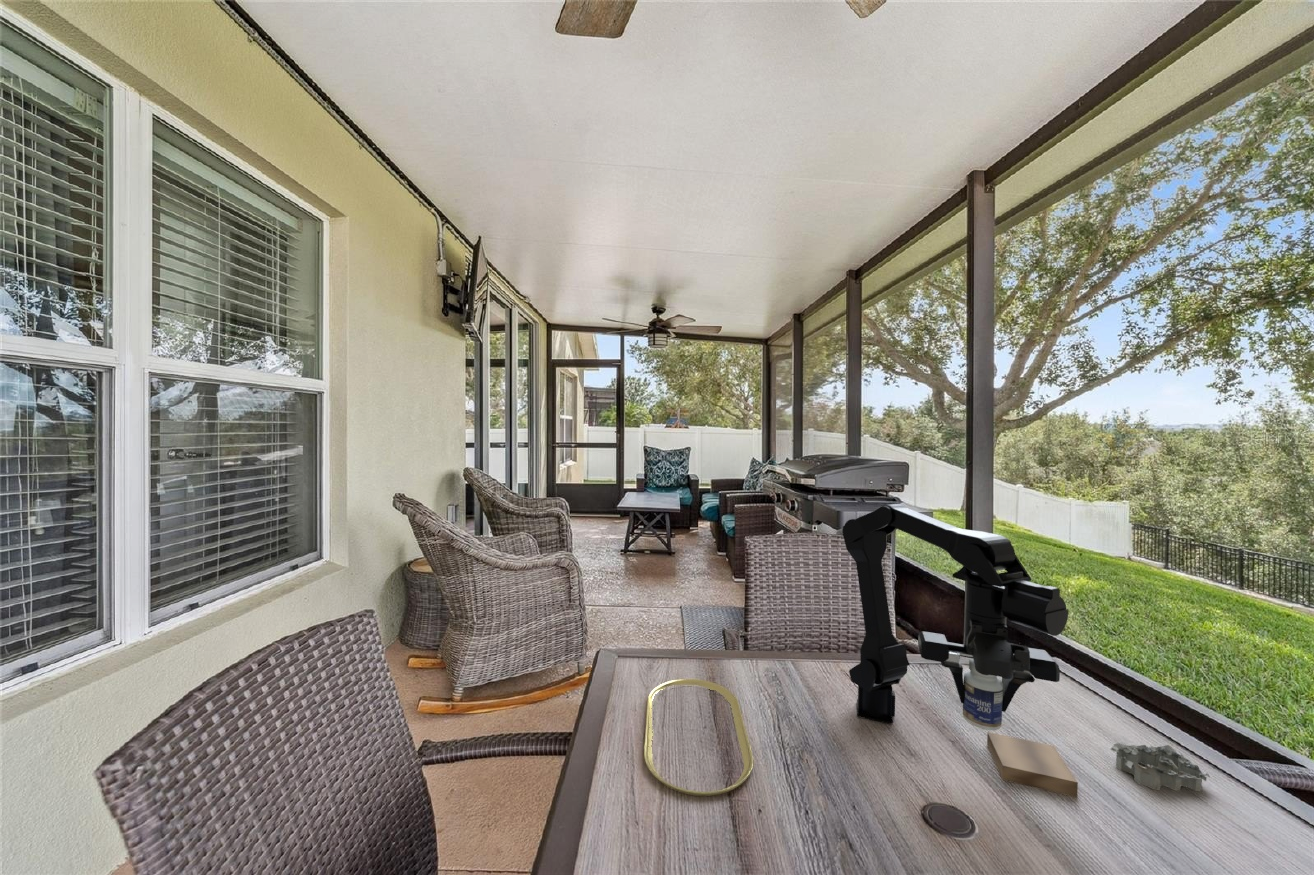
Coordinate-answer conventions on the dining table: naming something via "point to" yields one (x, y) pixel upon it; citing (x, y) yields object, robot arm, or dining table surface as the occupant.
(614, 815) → the dining table surface
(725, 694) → the oval ring
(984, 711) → the pill bottle
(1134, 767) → the egg carton
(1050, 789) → the tan slab
